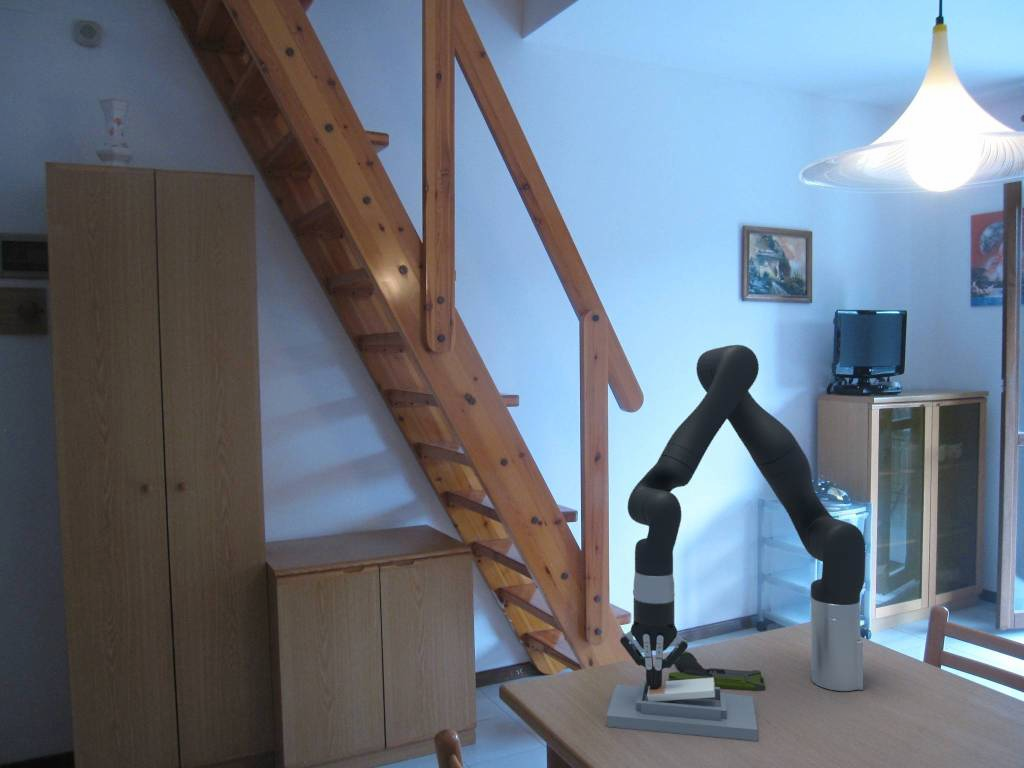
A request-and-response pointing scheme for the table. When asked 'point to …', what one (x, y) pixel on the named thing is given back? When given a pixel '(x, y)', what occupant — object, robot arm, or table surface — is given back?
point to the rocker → (683, 690)
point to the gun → (717, 675)
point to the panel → (684, 714)
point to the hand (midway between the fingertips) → (653, 687)
